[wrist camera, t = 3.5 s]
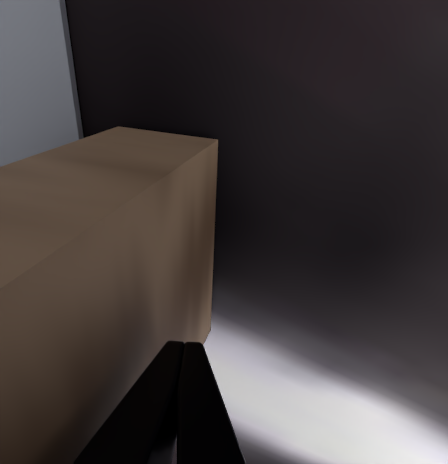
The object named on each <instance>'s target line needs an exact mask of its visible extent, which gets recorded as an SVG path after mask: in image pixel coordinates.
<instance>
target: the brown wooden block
mask: <svg viewBox="0 0 448 464" xmlns="http://www.w3.org/2000/svg"><path fill="white" fill-rule="evenodd" d="M217 159H218V140H217V139H210V138H202V137H194V136H187V135H179V134H172V133H164V132H157V131H149V130H141V129H134V128H126V127H119V126H118V127H115V128H112V129H109V130H106V131H103V132H100V133H97V134H94V135H92V136H89V137H86V138H83V139H80V140H77V141H74V142H71V143H68V144H65V145H62V146H59V147H57V148H54V149H51V150H48V151H45V152H42V153H39V154H36V155H33V156H30V157H27V158H25V159H22V160H19V161H16V162H13V163H10V164H7V165H4V166H1V167H0V464H73V462H74V460H75V459H76V458H77V456H78V455H79V454H80V453H81V451H82V450H83V449H84V447H85V446H86V445H87V444H88V442H89V441H90V440H91V438H92V437H93V436H94V435H95V433H96V432H97V431H98V429H99V428H100V427H101V426H102V424H103V423H104V422H105V420H106V419H107V418H108V417H109V415H110V414H111V413H112V411H113V410H114V409H115V408H116V406H117V405H118V404H119V402H120V401H121V400H122V399H123V397H124V396H125V395H126V393H127V392H128V391H129V390H130V388H131V387H132V386H133V384H134V383H135V382H136V381H137V379H138V378H139V377H140V375H141V374H142V373H143V372H144V370H145V369H146V368H147V366H148V365H149V364H150V363H151V361H152V360H153V359H154V357H155V356H156V355H157V354H158V352H159V351H160V350H161V348H162V347H163V346H164V345H165V343H166V342H167V341H169V340H172V341H183V342H184V343H186V342H187V341H190V342H201V343H202V344H204V342H205V340H206V338H207V336H208V334H209V332H210V330H211V306H212V281H213V257H214V233H215V208H216V184H217Z"/></svg>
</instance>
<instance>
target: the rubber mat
mask: <svg viewBox="0 0 448 464" xmlns="http://www.w3.org/2000/svg"><path fill="white" fill-rule="evenodd" d="M83 138H84V137H83V130H82V123H81V115H80V108H79V101H78V93H77V86H76V79H75V71H74V64H73V57H72V49H71V42H70V35H69V27H68V20H67V13H66V5H65V0H0V167H1V166H4V165H7V164H10V163H13V162H16V161H19V160H22V159H25V158H27V157H30V156H33V155H36V154H39V153H42V152H45V151H48V150H51V149H54V148H57V147H59V146H62V145H65V144H68V143H71V142H74V141H77V140H80V139H83Z"/></svg>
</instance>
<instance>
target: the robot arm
mask: <svg viewBox="0 0 448 464" xmlns="http://www.w3.org/2000/svg"><path fill="white" fill-rule="evenodd" d="M176 439H177V464H246V462H245V460H244V457H243V454H242V451H241V449H240V446H239V443H238V440H237V437H236V435H235V432H234V429H233V426H232V424H231V421H230V418H229V415H228V413H227V410H226V407H225V404H224V402H223V399H222V396H221V393H220V391H219V388H218V385H217V382H216V380H215V377H214V374H213V371H212V369H211V366H210V363H209V360H208V358H207V355H206V352H205V349H204V347H203V344H202V343H201V342H190V341H187V342H186V343H184V342H183V341H172V340H169V341H167V342H166V343H165V345H164V346H163V347H162V348H161V350H160V351H159V352H158V354H157V355H156V356H155V357H154V359H153V360H152V361H151V363H150V364H149V365H148V366H147V368H146V369H145V370H144V372H143V373H142V374H141V375H140V377H139V378H138V379H137V381H136V382H135V383H134V384H133V386H132V387H131V388H130V390H129V391H128V392H127V393H126V395H125V396H124V397H123V399H122V400H121V401H120V402H119V404H118V405H117V406H116V408H115V409H114V410H113V411H112V413H111V414H110V415H109V417H108V418H107V419H106V420H105V422H104V423H103V424H102V426H101V427H100V428H99V429H98V431H97V432H96V433H95V435H94V436H93V437H92V438H91V440H90V441H89V442H88V444H87V445H86V446H85V447H84V449H83V450H82V451H81V453H80V454H79V455H78V456H77V458H76V459H75V460H74V462H73V464H171V462H172V458H173V454H174V449H175V444H176Z"/></svg>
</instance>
